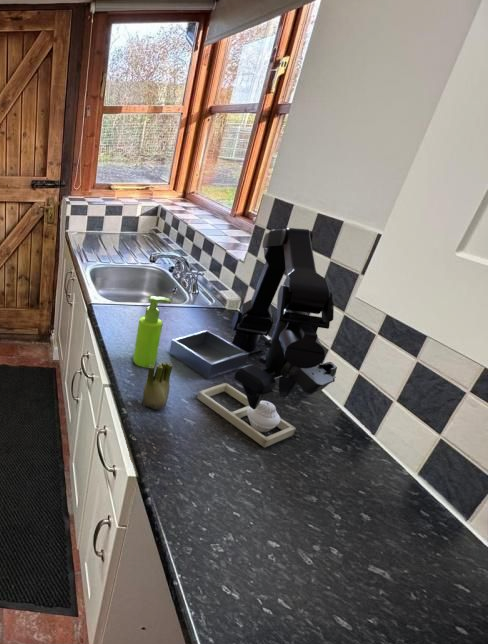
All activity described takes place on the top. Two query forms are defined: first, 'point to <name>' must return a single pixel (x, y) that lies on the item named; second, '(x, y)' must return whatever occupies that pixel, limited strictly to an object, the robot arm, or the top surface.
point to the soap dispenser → (149, 334)
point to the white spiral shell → (263, 416)
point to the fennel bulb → (157, 386)
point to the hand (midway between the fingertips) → (267, 402)
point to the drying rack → (236, 415)
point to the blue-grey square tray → (208, 353)
